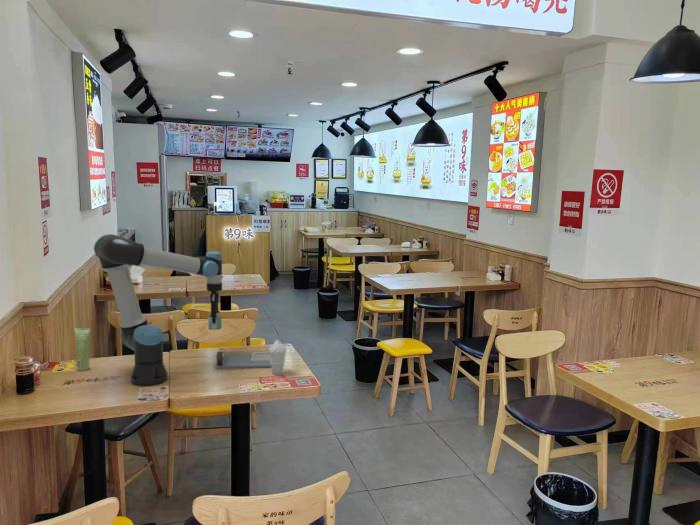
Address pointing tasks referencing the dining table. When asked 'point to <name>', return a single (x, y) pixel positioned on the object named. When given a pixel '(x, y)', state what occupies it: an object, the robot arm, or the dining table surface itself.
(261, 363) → the jig board
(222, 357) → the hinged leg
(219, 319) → the teal egg shape
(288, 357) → the dining table surface
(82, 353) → the tube
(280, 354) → the soft serve ice cream cone
